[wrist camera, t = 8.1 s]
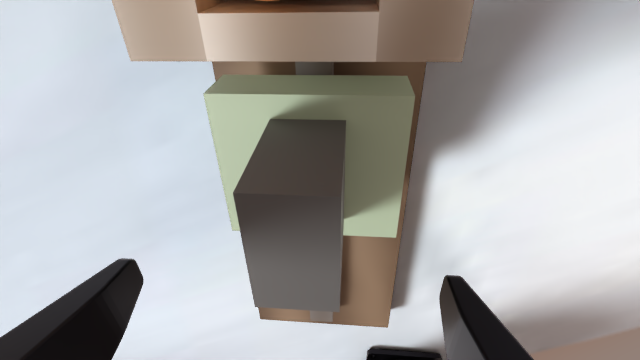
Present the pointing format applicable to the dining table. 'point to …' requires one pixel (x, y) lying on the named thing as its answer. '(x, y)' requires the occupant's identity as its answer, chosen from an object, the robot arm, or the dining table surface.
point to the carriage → (309, 174)
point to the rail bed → (312, 59)
